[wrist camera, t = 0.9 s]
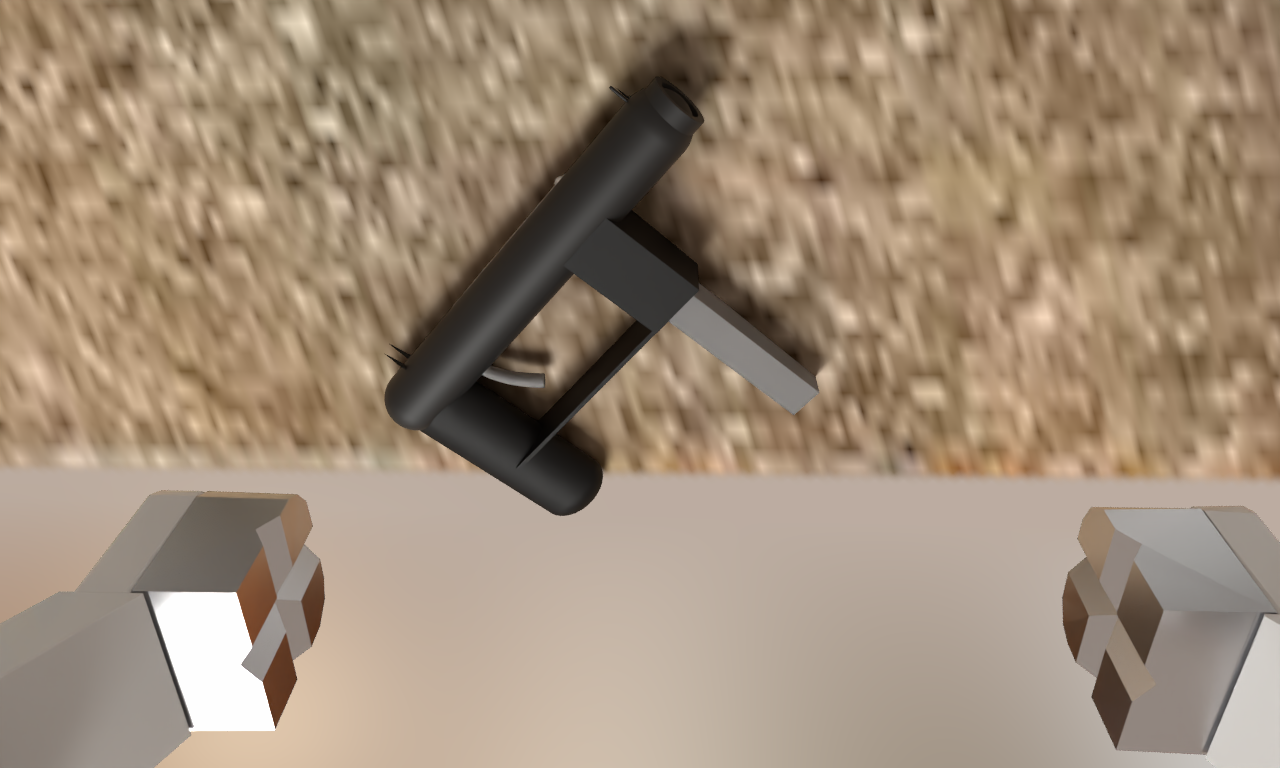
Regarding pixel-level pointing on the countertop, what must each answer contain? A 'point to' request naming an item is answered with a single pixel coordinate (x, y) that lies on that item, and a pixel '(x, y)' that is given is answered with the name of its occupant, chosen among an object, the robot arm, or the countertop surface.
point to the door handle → (614, 266)
